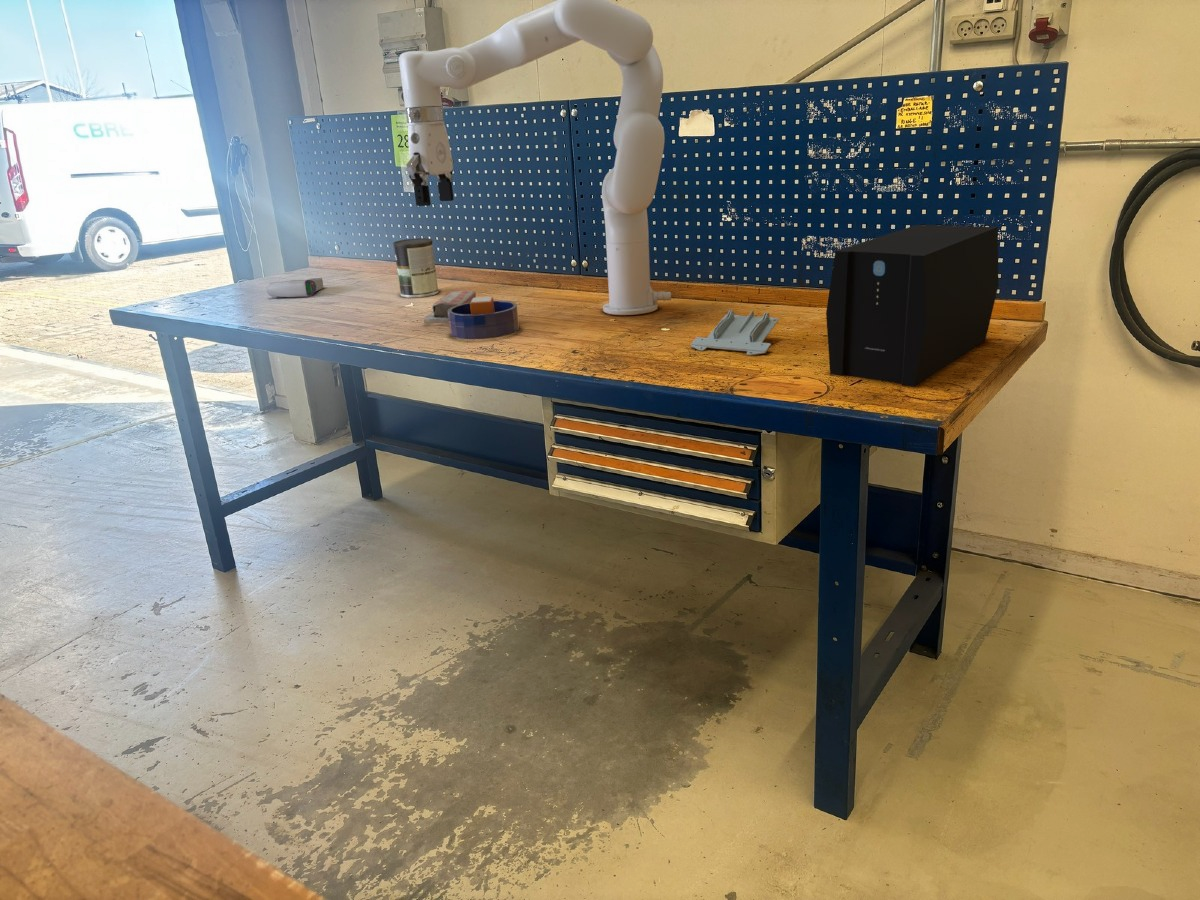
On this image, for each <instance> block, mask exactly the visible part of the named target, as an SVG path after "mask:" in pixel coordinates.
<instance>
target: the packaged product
mask: <svg viewBox="0 0 1200 900" xmlns="http://www.w3.org/2000/svg"><path fill="white" fill-rule="evenodd" d="M473 298H477V293H476V292H475V291H474V290H471V289H463V290H462V289H461V290H452V291H450V292H448V293H447V294H445V295H444V296H443V297H441V298H440V299H439V300H437V301H435V302H434V303H433V304H432V307H431V308H432V312H431V313H429V314H427V316H425V317H423V322H424V323H423V324H449V319H448V310H449V309H450V308H452V307H454V306H457V305H460V304H465V303H471V301H472V299H473Z"/></svg>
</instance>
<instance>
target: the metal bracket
mask: <svg viewBox="0 0 1200 900" xmlns="http://www.w3.org/2000/svg"><path fill="white" fill-rule="evenodd" d="M779 321H780V318H777V317H770V313H769V312H764V313H763V315H762V316H755V311H754V310H751V311H750V313H749V314H748V315H738V314H735V312H734V310H731V309H730V310H728V312H727V314H724V316H723V317H722V318H721V319H720V321H719V322H718V323H717V325H716V326H715V327H714V328H713V329H712V330H711V332H710V333H709V334H708V336H707V337H703V336H702V337H701V336H696V337H695V338H694V339H693V341H692V342H691V343H690V347H692V348H693V349H696V350H698V351H701V352H703V351H706V349H718V350H728V351H738V352H739V351H740V352H746V355H747V356H756V355H761V354H766V353H767V352H768V351H769V350H770V348H771V347H772V343H770V342H764V341H765V340H766V338H767V337H768V336H769V335H770V333H771V331H772V330H773V329H774V327H775V326H776V325H777V323H778V322H779Z"/></svg>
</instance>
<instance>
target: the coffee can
mask: <svg viewBox="0 0 1200 900" xmlns="http://www.w3.org/2000/svg"><path fill="white" fill-rule="evenodd" d="M433 241H434V240H433V239H432V238H427V237H418V238H407V239H400V240H396V241H393V242H392V245H393V250H394V258H395V263H396V270H397V277H398V282H399V283H398V284H399V290H400V297H402V298H410V299H414V298H418V299H419V298H426V297H431V296H434V295H437V294H439V286H438V277H437V270H436V269H437V268H436V262H435V254H434V253H435V252H434V246H433Z"/></svg>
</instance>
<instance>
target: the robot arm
mask: <svg viewBox="0 0 1200 900" xmlns="http://www.w3.org/2000/svg"><path fill="white" fill-rule="evenodd" d="M650 24H651V23H649V22H648V21H647V19H646V18H644V17H643V16H642V15H640V14H638V13H637V12H634V11H632V10H630V9H627V8H625V7H623V6H621V5H619V4H617V3H614V2H612V1H610V0H554V1H552V2H549V3H547V4H545V5H543V6H541V7H539V8H536V9H534V10H532V11H529V12H526V13H524V14H521V15H519V16H516V17H514V18H512V19H511V20H509V21H507V22H505V23H504V24H503V25H501V27H499V28H498V29H497V30H495V31H494V32H492V33H490V34H489V35H487V36H484V37H482V38H481V39H478V40H477V41H474V42H472V43H470V44H466V45H465V46H462V47H456V46H454V47H453V46H452V47H447V48H443V49H437V50H432V51H431V50H430V51H429V50H411V51H405V52H402V53H401V54H400V55H399V58H398V65H399V72H400V82H401V87H402V95H403V105H404V110H405V118H406V126H407V142H408V156H409V157H408V158H409V161H408V162H407V163H406V164H405V168H406V171H407V173H408V177H409V179H410V181H411V186H412V187H413V191H414V198H415V199H414V200H415V205H416V207H429V206H431V204H432V203H431V195H430V186H429V185H427V184H428V183H427V182H428V179H429V176H430V175H431V176H436V178H437V179H438V181H437V191H438V197H439V198H438V199H439V202H453V201H454V199H455V198H454V190H453V176H452V175H453V173H454V159H453V158H452V157H453V156H452V151H451V150H452V149H451V145H450V140H449V135H448V131H447V128H446V123H445V120H444V111H443V101H442V94H441V88H451V89H453V90H458V91H459V90H465V89H467V88H470V87H472V86H474V85H477V84H479V83H482V82H483V81H486V80H489V79H490V78H493V77H495V76H497V75H500V74H502V73H505V72H507V71H509V70H512V69H516V68H519V67H522V66H525V65H527V64H529V63H531V62H534V61H537V60H538V59H540V58H541V59H542V57H546V56H547V55H549V54H552V53H554V52H556V51H559V50H561V49H564V48H566V47H568V46H571V45H574V44H576V43H577V42H580V41H584V42H585V43H588V44H590V45H592V46H594V47H596V48H598V49H601V50H603V51H605V52H606V53H607V54H608V56H609V57H610V58H611V59H612V60H613V61H614V62H615V63H616V64H617V65H618V67H619V69H620V71H621V75H622V88H621V93H620V94H621V95H620V102H619V107H618V111H617V118H616V121H615V127H614V130H613V144H614V146H615V147H614V148H615V149H616V153H615V160H614V165H613V167H612V168H611V169H609V171H608V172H607V173H606V174H605V176H604V179H603V181H602V185H601V199H602V201H601V202H602V208H603V209H602V210H603V216H604V228H605V229H604V230H605V246H606V247H605V249H606V266H607V268H606V269H607V284H608V302H606V303H605V304H603V306H602V311H603V313H605V314H608V315H614V316H636V315H644V314H649V313H652V312H654V311H656V310H658V308H659V304H658V301H664V302H665V301H672V293H671V291H664V290H663V291H655V290H653V287H652V286H651V271H650V270H651V268H650V266H651V265H650V238H649V237H650V236H649V235H650V234H649V233H650V232H649V220H648V210H647V208H648V207H649V206H650V205H651V203H652V202H653V199H654V197H655V193H656V190H657V185H658V180H659V175H660V172H661V171H660V169H661V165H662V160H663V155H664V149H665V140H666V139H665V130H664V126H663V125H662V123H661V121H660V119H659V114H660V108H661V102H662V95H663V88H664V71H663V65H662V62H661V58H660V56H659V54H658V51H657V49H656V48H655V46H654V44H653V43H654V32H653V29H652V27H651V25H650Z"/></svg>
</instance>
